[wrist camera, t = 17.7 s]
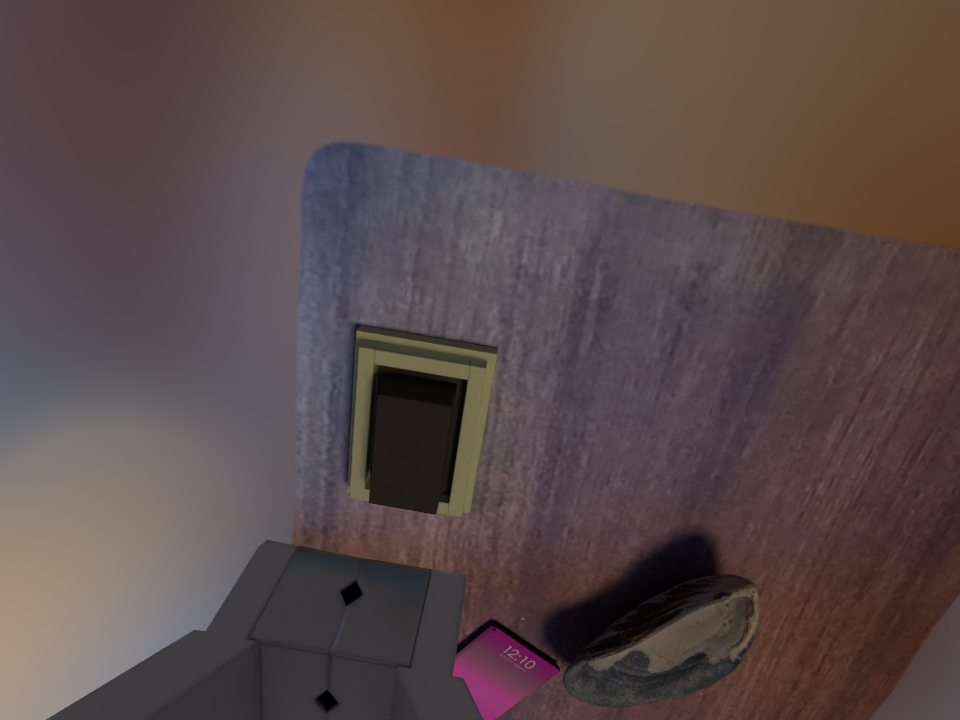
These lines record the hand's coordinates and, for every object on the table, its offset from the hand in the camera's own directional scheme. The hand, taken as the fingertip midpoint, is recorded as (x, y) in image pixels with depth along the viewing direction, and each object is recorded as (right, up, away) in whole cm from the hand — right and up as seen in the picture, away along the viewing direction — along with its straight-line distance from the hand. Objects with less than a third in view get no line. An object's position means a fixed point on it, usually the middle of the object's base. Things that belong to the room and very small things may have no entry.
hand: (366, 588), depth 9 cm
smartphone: (+1, -24, +41) cm, 47 cm away
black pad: (-2, -1, +29) cm, 29 cm away
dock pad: (-2, -1, +30) cm, 30 cm away
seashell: (+15, -16, +36) cm, 41 cm away
